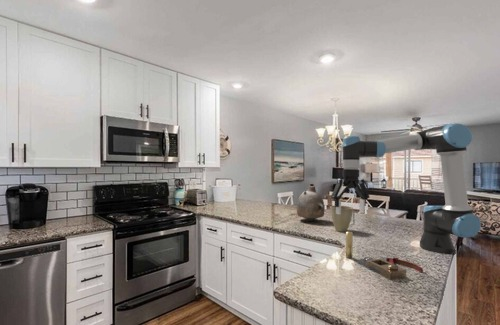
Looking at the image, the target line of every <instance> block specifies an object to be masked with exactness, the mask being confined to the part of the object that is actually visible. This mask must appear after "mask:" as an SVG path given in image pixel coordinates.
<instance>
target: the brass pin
mask: <svg viewBox="0 0 500 325" xmlns="http://www.w3.org/2000/svg"><path fill="white" fill-rule="evenodd" d="M353 236H354V235H353V232H352V231H348V230H347V231H346V232H345V258H346V259H353V250H354V249H353V246H354V244H353V242H354V241H353V240H354V239H353V238H354V237H353Z"/></svg>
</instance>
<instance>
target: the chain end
mask: <svg viewBox="0 0 500 325" xmlns="http://www.w3.org/2000/svg"><path fill="white" fill-rule="evenodd" d="M371 259H374V258H373V257H371V256H365V257H363V258H360V259H357V264H359V265H361V266H362V265H363V266H362V267H365V268H366V269H368V270H370V271H372V272H374V273H376V274H378V275H380V271H379V270H377V269H375V268H373V267H371V266H369V265H367V264H366V260H371ZM378 265H383V264H381V263H380V264H378Z"/></svg>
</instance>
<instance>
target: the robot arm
mask: <svg viewBox="0 0 500 325" xmlns="http://www.w3.org/2000/svg"><path fill="white" fill-rule="evenodd" d="M360 138H361V137H360V136H357V135H351V136H350V135H349V136H345V137H344V138H343V140H342V168H343V169H342V178H337V179H336V185H335V187H334V189H333V191H332V192H331V193H332V194H331V196H330V198H331V199H333V200H334V206H335V207H336V214H339V215H340V214H341V206H342V200H341V198H342V197H343V195H344V194H345V192H346V191H347V190H349V189H353V190H355V192H356V193H357V195H358V197H359V204H358V205H359V206H358V207H359V211H358V212H359V213H360V214H366V213H365V212H366V205H367V204H366V202H367V200H368V199H370V194H369V192H368V189H367V186H366V184H365V179H364V178H360V170H359V169H360V159H361V158H382V157H383V156H384V155H385V154H391V153H399V152H403V151H410V150H414V151H423V150H435V151H436V155H439V157H440V163H441V164H440V165H441V175H442V184H443V190H444V191H443V192H444V193H443V194H444V201H445V204H444V205H424V206H423V212H422V215H423V219H422V220H423V232H422V235H421V238H420V241H419V247H420V248H421V249H423V250H426V251H429V252H434V253H435V252H436V253H440V254H452V253H455V245H454V243H453V240H452V238H451V235H453V236H456V237H459V238H464V239H469V238H473V237H474V236H476V235H477V234H478V233H479V232H480V231H481V228H482V222H481V219H480V218H479V217H478V216H477V215H476V214H474V210H473V207H471V206H470V205H469V203H468V200H469V199H468V192H467V191H468V190H467V182H466V172H465V161H464V154H465V153H466V152H467V147H468V146H469V145H471V142H472V140H473V134H472V131H471V129H470V128H469V127H467V126H466V125H465V124H462V123H456V122H455V123H449V124H448V123H447V124H445V125H439V126H434V127H430V128H427V129H424V130H420V131H414V132H412V133H411V134H410V135H403V136H398V137H391V138H385V139H378V140H374V141H373V140H371V141H369V140H365V141H364V140H361V139H360Z"/></svg>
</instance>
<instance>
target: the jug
mask: <svg viewBox="0 0 500 325" xmlns="http://www.w3.org/2000/svg"><path fill="white" fill-rule="evenodd" d="M296 213H297V215H298V217H301V218H304V219H306V220H308V221H309V222H312V221H315V220H316V219H319V218H323V217H324V215H325V202H324V200H323V196H321V194H320V193H319V192H318V191H317V190H316V183H314V182H313V183H309V184H308V189H307V190H306V191H305V190H304V191H303V192H302V193H301V194H299V197H298V199H297V203H296Z"/></svg>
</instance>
